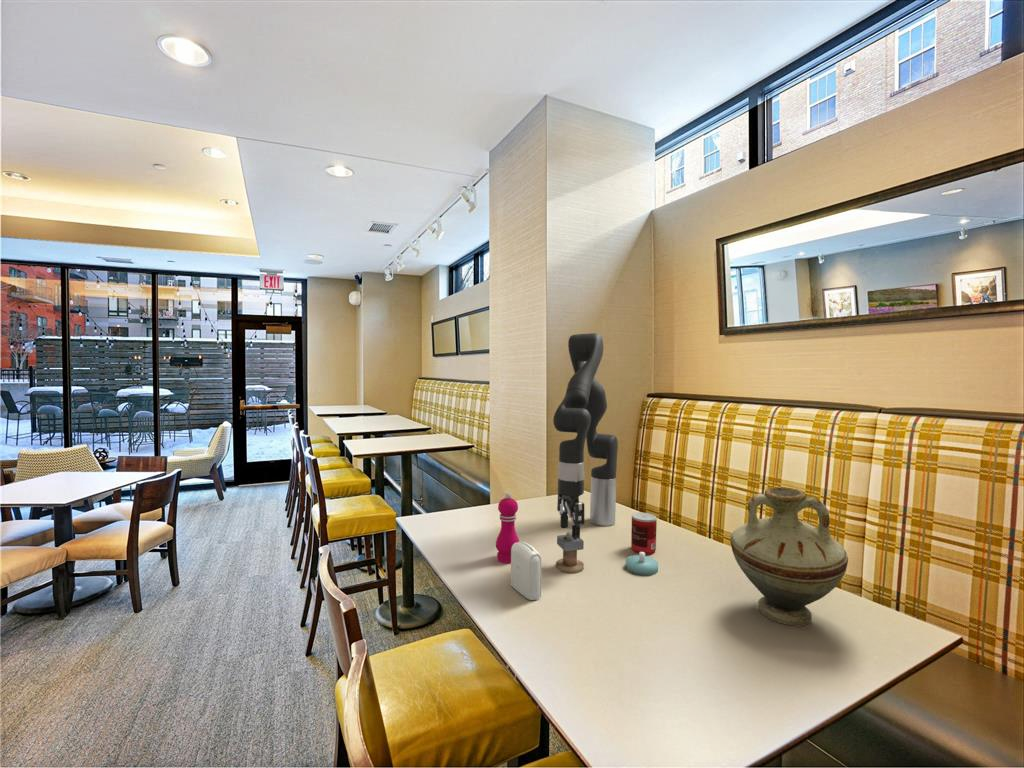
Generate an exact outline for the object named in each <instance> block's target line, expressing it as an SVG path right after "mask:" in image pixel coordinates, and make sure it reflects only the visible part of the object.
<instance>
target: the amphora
mask: <svg viewBox="0 0 1024 768" xmlns="http://www.w3.org/2000/svg"><path fill="white" fill-rule="evenodd" d="M760 505H765V506H767V507H769V508H771V509H772V510H773V511H772V512H773V513H772V515H771V516H769V517H763V518H758V516H757V508H758V507H759V506H760ZM806 508H811V509H814V510H815V511H816V514H817V517H818V526H813V525H812V524H810V523H808V522H805V521H801V519H799V517H798V516H799V515H798V514H799V512H801V511H802V510H804V509H806ZM747 511H748V520H747V522H746V523H744V524H741V525H740V526H738V527H737V528H735V529H734V530H733V531H732V533H731V535H730V539H729V542H730V547H731V551H732V554H733V556H734V559H735V561H736V563H737V565H738V567H739V568H740V569H741V571H742V572H743V574H744V575H745V576H746V577H747V579H748V581H749V582H750V583H752V585H753V586H754V587H755V588H756V590H757V591H758V592H760V593H761V595H762V596H761V597H760V598H759V599H758V602H757V604H758V605H757V608H758V610H759V612H760V613H761V614H762V615H763V616H765V617H766V618H768V619H770V620H771V621H774V622H776V623H779V624H783V625H789V626H795V627H796V626H798V627H799V626H801V625H802V626H807V625H808V624H810V623H811V622H812V618H813V617H812V616H813V614H812V612H811V610H810V609H809V608H808V607H807V605H810V604H813V603H815V602H817V601H819V600H821V599H823V598H824V597H826V595H828V594H830V593H831V591H833V590H834V589H835V588H837V586H838V585H839V584H840V582H841V580H842V579H843V577H844V575H845V574H846V572H847V568H848V563H849V556H848V553H847V551H846V550H845V548H844V547H843V546H842V544H841V543H840V542H839V541H837V539H835V538H833V537H832V535H831V533H830V512H829V509H828V508H827V506H826V504H824V503H823V502H822V501H821V500H819V499H818V498H816V497H814V496H808V497H807V494H806V493H805V491H803V490H800V489H798V488H792V487H769V488H766V489H765V490H764V494H763V493H757V494H754V495H753V496H751V497H750V499H748V502H747Z"/></svg>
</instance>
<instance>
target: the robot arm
mask: <svg viewBox="0 0 1024 768" xmlns="http://www.w3.org/2000/svg"><path fill="white" fill-rule="evenodd" d="M602 337H603V336H602V335H601V334H599V333H597V332H596V333H595V332H594V333H578V334H577V333H576V334H571V335H570V336H569V338H568V340H567V341H568V344H567V346H568V353H569V357H570V362H571V364H572V368H573V372H574V374H573V375H572V377H570V379H569V381H568V384H567V387H566V391H565V395H564V397H563V399H562V401H561V402H560V404H559V405H558V407H557V409H556V410H555V412H554V415H553V419H552V421H553V426H554V428H555V430H557V431H558V432H559V433H560V432H561V433H572V434H573V433H576V436H575V438H573V439H568V440H567V439H565V440H563V441H561V442H560V443H559V447H558V449H559V452H558V453H559V455H558V467H557V468H558V469H557V503H556V504H557V507H556V508H557V509H556V510H557V512H559V514H558V515H560V523H559V524H560V527H559V528H561V529H568V528H569V518H570V519H571V520H570V521H571V532H572V538H574V539H575V538H581V525H582V526H583V525H585V522H586V521H585V502H580V496H582V495H584V492H585V465H584V464H585V463H584V457H585V454H584V453H585V443H586V448H587V449H586V450H587V452H588V455H589V457H591V458H593V459H601V460H606V461H605V464H602V465H599V466H595V467H593V468H592V469H591V472H590V474H591V475H590V476H591V477H590V499H589V500H590V502H589V503H590V508H589V509H590V510H589V518H590V523H592V524H594V525H597V526H605V527H607V526H608V527H609V526H613V525H615V524H616V501H617V500H616V499H617V498H616V496H617V495H616V494H617V469H618V468H617V465H618V449H619V444H618V443H619V441H618V438H617V436H616V435H614V434H604V433H598V432H597V427H598V425H599V423H600V421H601V420H602V418H603V416H604V415H605V414H606V411H607V408H608V404H607V403H608V402H607V396H606V391H605V389H604V387H603V385H602V384H601V383H600V381H599V380H597V379H596V378H595V375H596V374H597V371H598V369H599V366H600V364H601V361H602V358H603V355H604V341H603V338H602Z"/></svg>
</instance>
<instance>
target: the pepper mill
mask: <svg viewBox="0 0 1024 768" xmlns="http://www.w3.org/2000/svg"><path fill="white" fill-rule="evenodd" d="M497 509H498V512H499V513H500V514H499V520H500V523H501V524H500V526H501V527H500V531H499V533H498V536H497V538H496V541H495V548H496V550H497V551H498V552H497V554H496V559H497V561H498V562H499V563H503V564H511V548H512V546H513V544H514V543H516V542H520V540H519V536H518V534H517V532H516V528H515V527H516V526H515V524H516V523H515V522H516V520H517V514H516V513H517V512H518V510H519V504H518V502H517V500H516V499H514V498H512V495H511V493H509V492H507V493H506V494H505V498H502V499H500V501H499V503H498V507H497Z"/></svg>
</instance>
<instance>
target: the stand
mask: <svg viewBox="0 0 1024 768" xmlns="http://www.w3.org/2000/svg"><path fill="white" fill-rule="evenodd" d="M565 535H566V540H574V538H572V531H567V532H566V534H565ZM584 565H585V564H584V562H583V561H582V560H580V559H578V550H574V551H564V550H563V549H562V558H560V559H558V560H557V561H555V568H556V570H558V571H560V572H563V573H566V574H567V573H568V574H577V573H578V574H579V573H581V572H582V571H584V567H585V566H584Z"/></svg>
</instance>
